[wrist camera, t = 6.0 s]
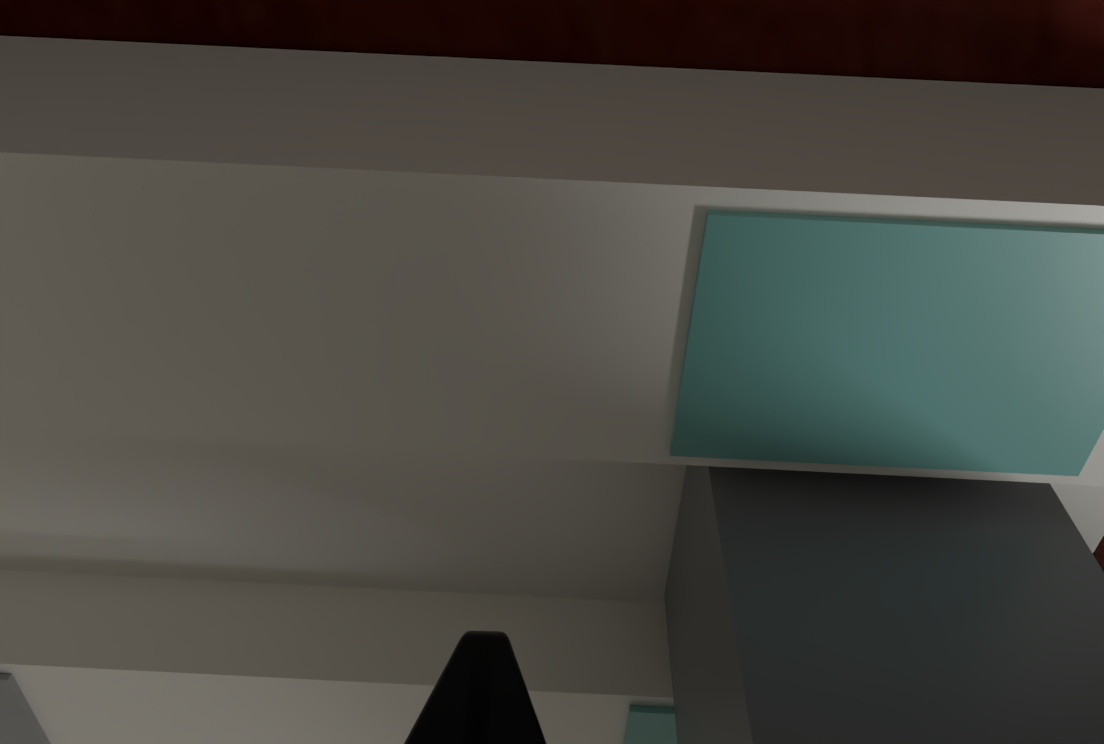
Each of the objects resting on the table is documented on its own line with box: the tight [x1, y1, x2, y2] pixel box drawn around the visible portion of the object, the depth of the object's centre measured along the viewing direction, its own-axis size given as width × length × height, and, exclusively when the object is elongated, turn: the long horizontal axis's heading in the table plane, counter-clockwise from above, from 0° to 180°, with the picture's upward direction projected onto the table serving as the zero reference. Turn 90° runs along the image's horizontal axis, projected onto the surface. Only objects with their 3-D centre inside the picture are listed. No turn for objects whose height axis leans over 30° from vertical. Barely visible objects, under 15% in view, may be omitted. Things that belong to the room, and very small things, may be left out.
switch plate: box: [0, 36, 1104, 744], centre depth 11 cm, size 20×10×3 cm, turn 88°
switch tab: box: [664, 465, 1104, 744], centre depth 9 cm, size 4×3×6 cm
